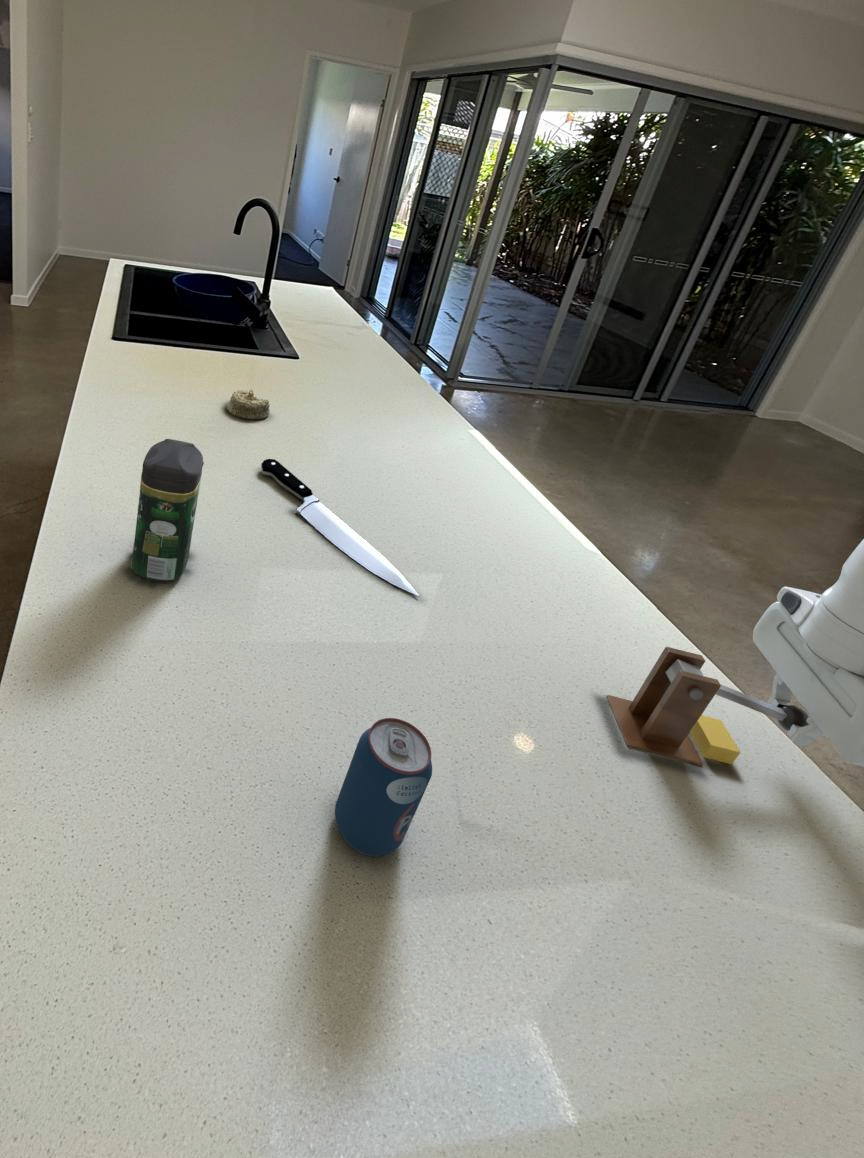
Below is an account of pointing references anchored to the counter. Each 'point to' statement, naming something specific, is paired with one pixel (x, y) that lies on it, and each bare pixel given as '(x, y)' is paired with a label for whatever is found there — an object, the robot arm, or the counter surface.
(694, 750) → the stand
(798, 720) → the grey metal rod
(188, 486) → the coffee jar
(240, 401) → the cake
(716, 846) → the counter surface
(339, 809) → the soda can
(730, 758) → the butter
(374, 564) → the chef knife
